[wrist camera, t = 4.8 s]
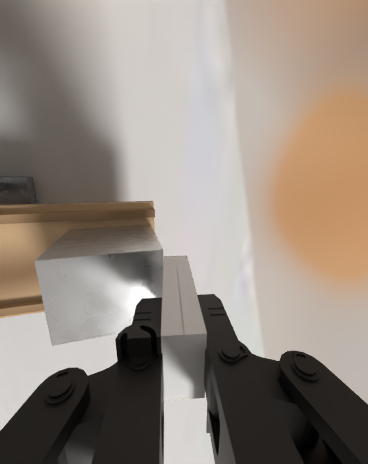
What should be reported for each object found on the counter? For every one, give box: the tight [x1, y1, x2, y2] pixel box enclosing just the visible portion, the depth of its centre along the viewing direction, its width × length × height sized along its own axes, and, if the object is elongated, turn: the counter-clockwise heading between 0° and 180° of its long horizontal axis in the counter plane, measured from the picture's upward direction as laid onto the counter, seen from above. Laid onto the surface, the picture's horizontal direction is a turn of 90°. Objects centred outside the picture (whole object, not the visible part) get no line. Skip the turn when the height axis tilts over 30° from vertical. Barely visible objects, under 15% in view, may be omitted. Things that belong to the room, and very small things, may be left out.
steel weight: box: [34, 225, 163, 346], centre depth 14 cm, size 5×6×6 cm
